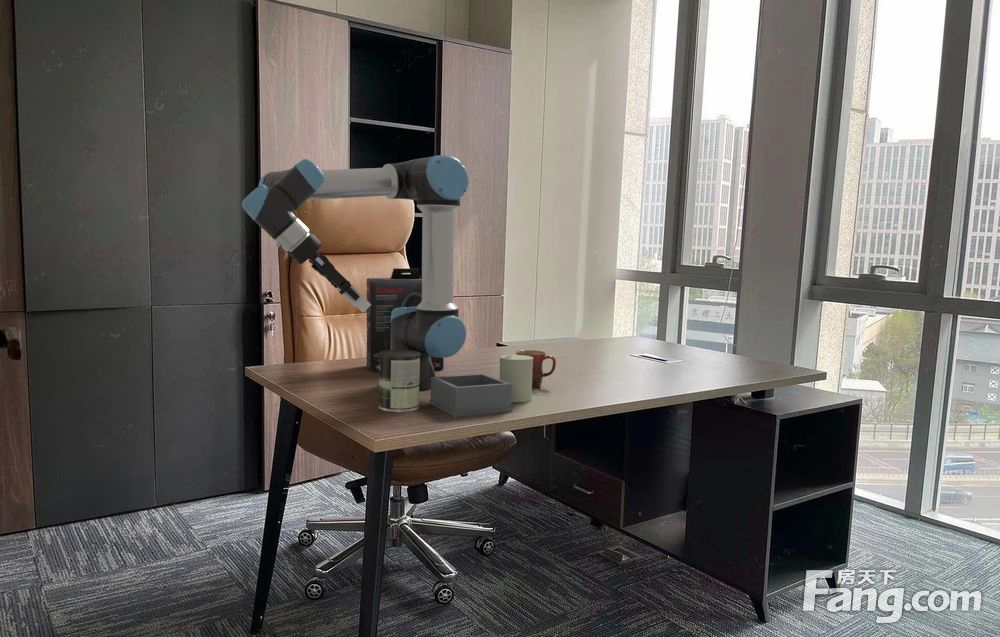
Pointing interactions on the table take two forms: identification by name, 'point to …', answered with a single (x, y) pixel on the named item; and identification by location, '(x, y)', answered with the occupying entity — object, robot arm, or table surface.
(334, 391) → the table surface
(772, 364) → the table surface
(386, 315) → the headset box
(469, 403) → the box
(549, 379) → the table surface
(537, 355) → the mug
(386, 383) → the coffee can
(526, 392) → the can
